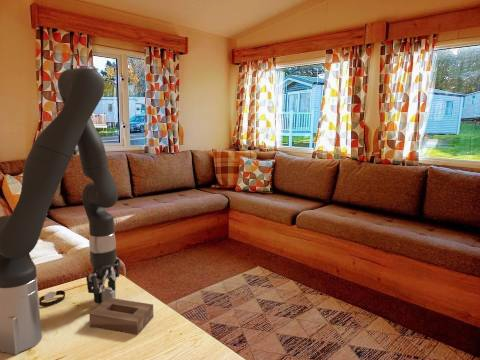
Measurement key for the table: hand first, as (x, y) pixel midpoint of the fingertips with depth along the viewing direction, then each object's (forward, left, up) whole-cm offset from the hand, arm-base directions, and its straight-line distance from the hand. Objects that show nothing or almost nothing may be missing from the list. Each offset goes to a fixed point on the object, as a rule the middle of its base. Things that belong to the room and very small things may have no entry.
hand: (105, 297), depth 111 cm
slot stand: (-8, -11, -2) cm, 14 cm away
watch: (-4, +16, -2) cm, 17 cm away
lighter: (0, 0, -2) cm, 2 cm away
